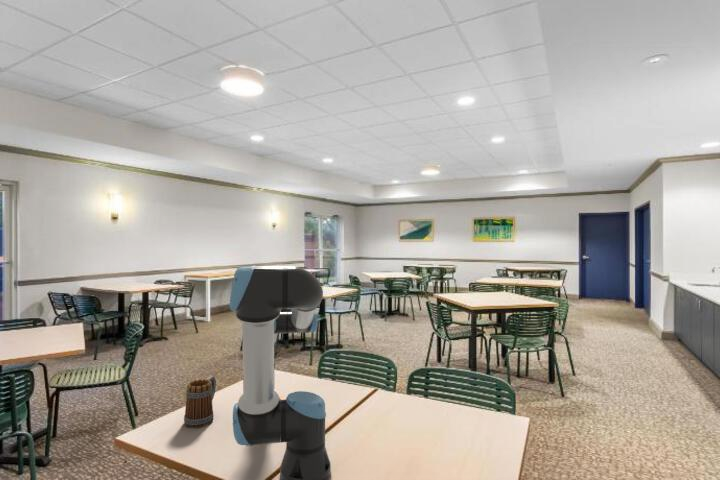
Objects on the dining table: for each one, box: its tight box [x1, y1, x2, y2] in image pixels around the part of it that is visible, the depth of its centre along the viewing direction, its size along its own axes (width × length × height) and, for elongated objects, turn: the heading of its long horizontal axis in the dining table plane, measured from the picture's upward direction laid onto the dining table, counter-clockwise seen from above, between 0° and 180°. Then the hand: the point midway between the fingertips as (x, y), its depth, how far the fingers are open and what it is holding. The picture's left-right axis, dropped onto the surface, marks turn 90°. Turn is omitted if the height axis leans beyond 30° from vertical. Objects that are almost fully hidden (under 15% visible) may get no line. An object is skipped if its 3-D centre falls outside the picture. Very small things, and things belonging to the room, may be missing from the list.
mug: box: [183, 376, 217, 429], centre depth 155 cm, size 16×11×15 cm
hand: (265, 403), depth 152 cm, fingers closed on plug, 5 cm apart
